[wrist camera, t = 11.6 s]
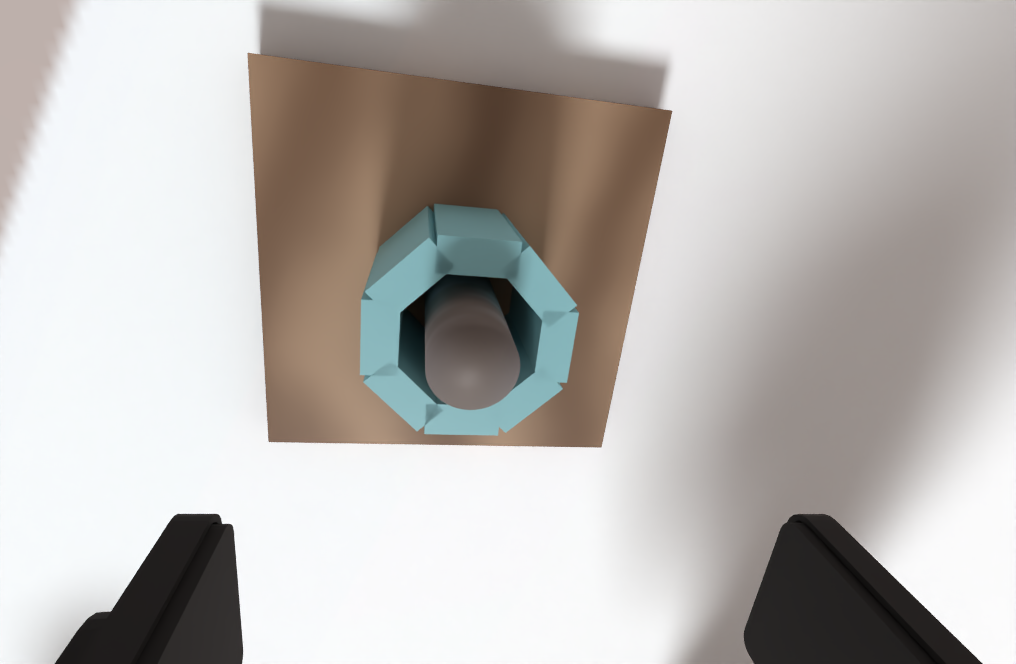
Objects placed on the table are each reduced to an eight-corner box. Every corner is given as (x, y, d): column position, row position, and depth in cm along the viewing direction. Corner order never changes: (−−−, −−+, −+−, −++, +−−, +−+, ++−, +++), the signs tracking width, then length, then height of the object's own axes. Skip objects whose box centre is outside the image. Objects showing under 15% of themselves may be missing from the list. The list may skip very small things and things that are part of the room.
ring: (549, 214, 22) (590, 247, 17) (528, 365, 25) (557, 436, 19) (378, 198, 21) (362, 228, 16) (373, 358, 24) (358, 432, 18)
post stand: (657, 110, 23) (799, 110, 14) (592, 431, 29) (666, 569, 20) (259, 56, 20) (134, 14, 11) (277, 424, 26) (202, 582, 17)
